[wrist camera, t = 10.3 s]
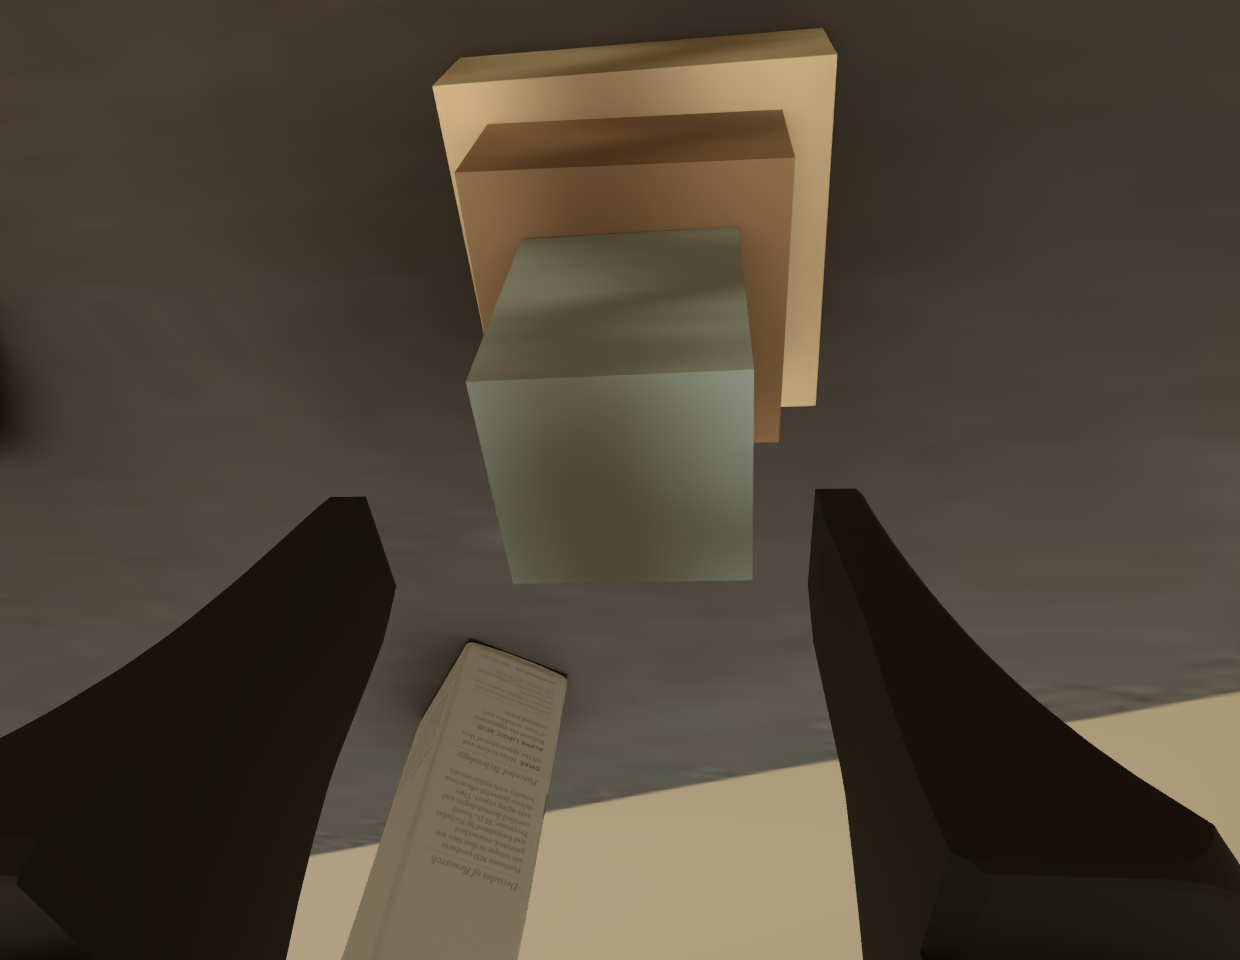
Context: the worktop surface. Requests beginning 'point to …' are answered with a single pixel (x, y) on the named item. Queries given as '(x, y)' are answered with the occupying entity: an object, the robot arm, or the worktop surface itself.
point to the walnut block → (642, 204)
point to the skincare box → (465, 817)
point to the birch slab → (673, 85)
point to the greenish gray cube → (621, 409)
